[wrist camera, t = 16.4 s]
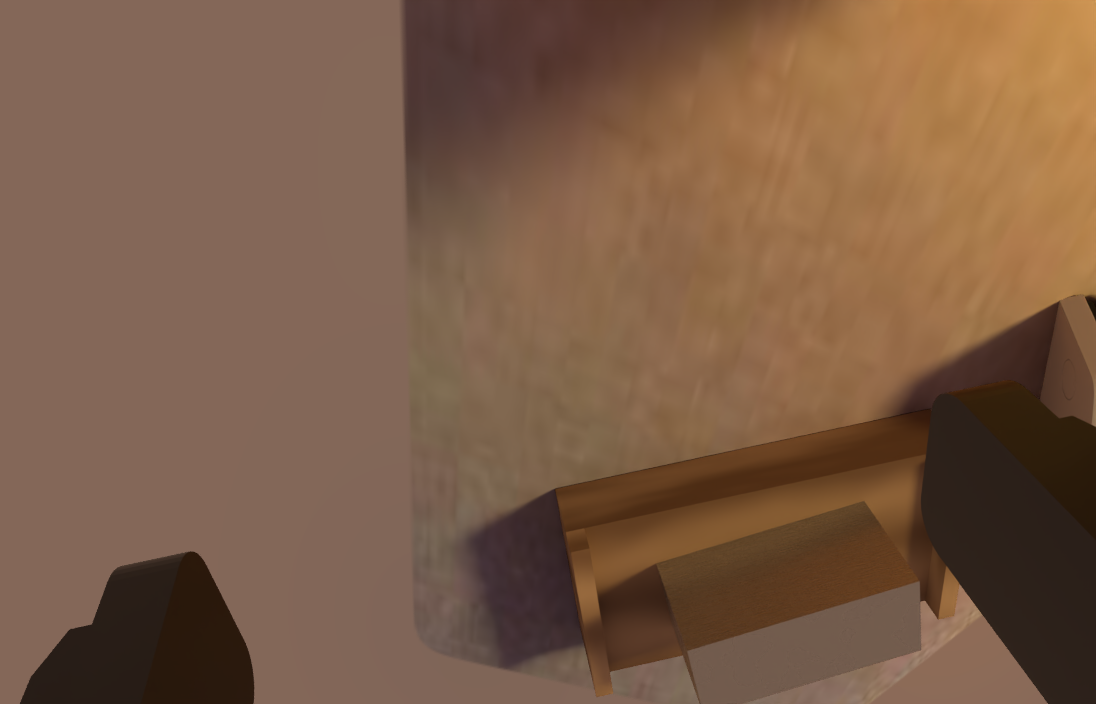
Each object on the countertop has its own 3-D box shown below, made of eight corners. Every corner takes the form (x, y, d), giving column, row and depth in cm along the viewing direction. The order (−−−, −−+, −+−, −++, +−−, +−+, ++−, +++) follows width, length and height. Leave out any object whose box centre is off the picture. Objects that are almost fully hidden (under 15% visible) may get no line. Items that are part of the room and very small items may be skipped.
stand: (555, 489, 49) (570, 552, 45) (929, 408, 50) (979, 463, 46) (580, 629, 55) (596, 697, 51) (912, 556, 57) (954, 615, 52)
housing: (655, 563, 48) (686, 651, 43) (864, 500, 48) (919, 581, 43) (672, 626, 51) (703, 715, 46) (868, 567, 51) (921, 650, 46)
